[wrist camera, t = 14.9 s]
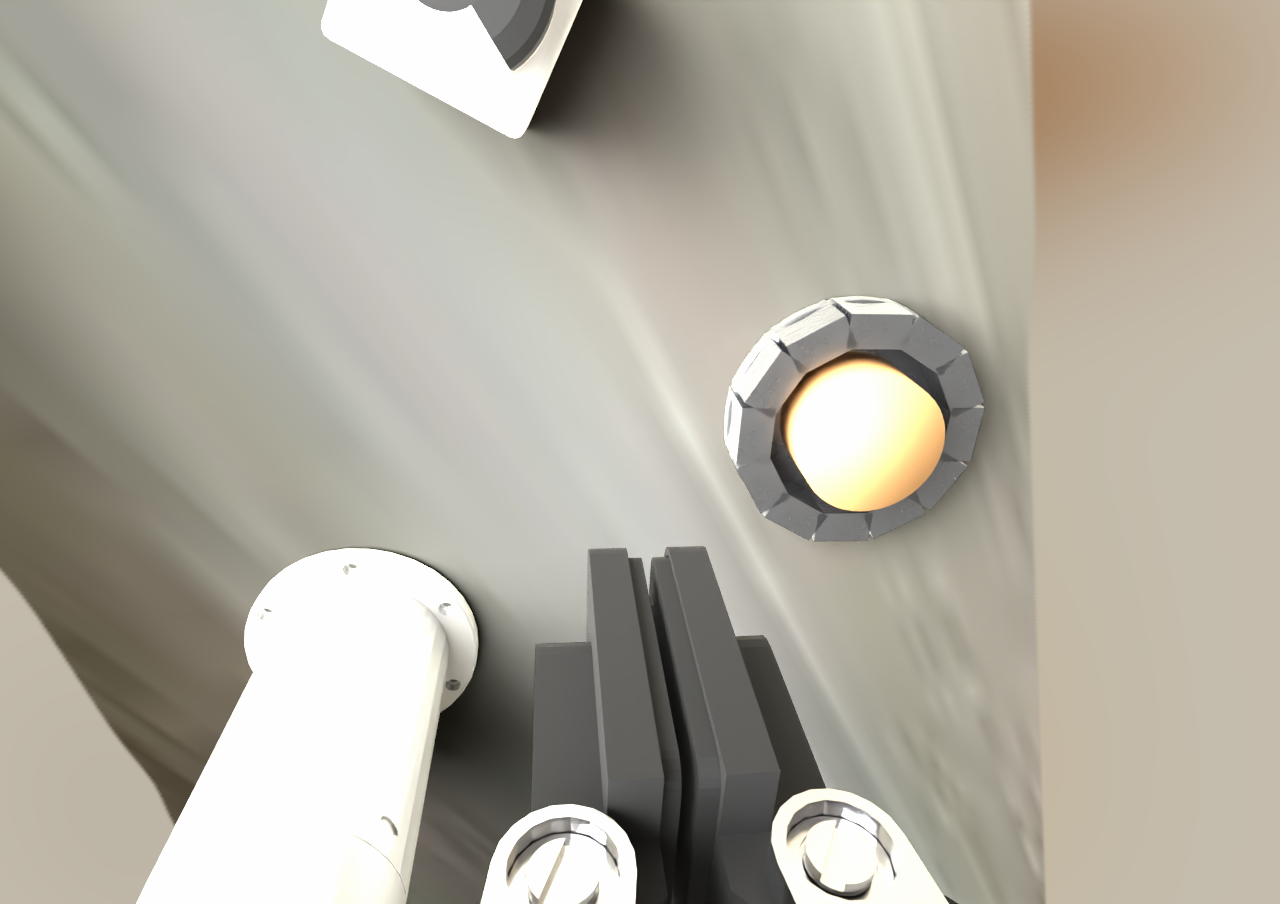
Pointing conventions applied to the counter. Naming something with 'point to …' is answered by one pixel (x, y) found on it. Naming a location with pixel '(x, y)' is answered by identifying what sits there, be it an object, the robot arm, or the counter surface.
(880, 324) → the faceted metal bowl
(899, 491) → the pale yellow rounded lump
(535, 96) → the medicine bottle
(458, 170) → the counter surface
